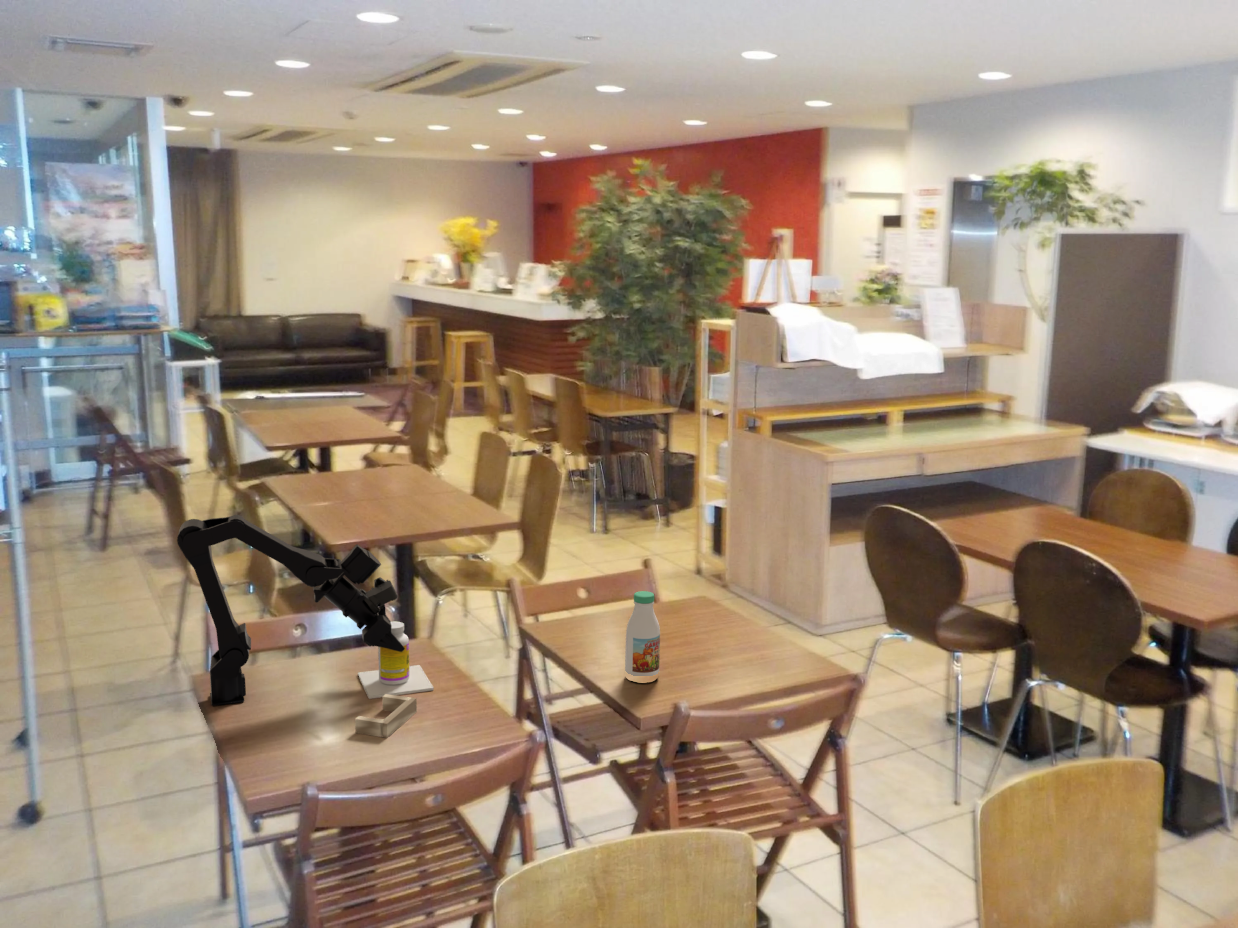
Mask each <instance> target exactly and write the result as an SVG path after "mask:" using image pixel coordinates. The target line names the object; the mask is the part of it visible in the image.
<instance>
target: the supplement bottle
mask: <svg viewBox="0 0 1238 928" xmlns="http://www.w3.org/2000/svg"><path fill="white" fill-rule="evenodd" d="M390 623H391V632H392V633H393V634H394V635H395V637H396V638H397V639H398V640H399V641H400V643H401V644H402V645H403V646H404V648H405V649H404V650H403V651H402V652H399V651H395V650H391V649H387V648H383V647H378V648H377V649H378V650H377V653H378V657H377V658H378V670H379V680H380V682H382V683H384V684H387V685H397V684H402V683H405V682H406V681H408V679H409V666H410V640H409V637H408V635H407V634H405V632H404V631H405V623H403V622H402V621H401V622H400V621H394V620H393V621H391V622H390Z"/></svg>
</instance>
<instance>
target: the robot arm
mask: <svg viewBox="0 0 1238 928" xmlns="http://www.w3.org/2000/svg"><path fill="white" fill-rule="evenodd" d="M233 539H237V540H239V541H240V542H242V543H244V544H245V545H247V546H249V547H251V548H252V549H255V550H256V551H258V552H260V553H262V554H263V555H265V556H267V557H269V558H270V559H273V560H275V561H276V562H278V563H279V564H282V565H283V566H284V567H285V568H287V569H288V570H289V572H290V573H292V574H293V575H294V576H295V578H297V579H298V580H299V581H301V582H302V583H303V584H305V585H306V586H307V587H311V588H312V590H313V593H314V595H313V598H314V599H313V600H314V602H315V603H319V602H320V601H321V600H322V599H323V598H326V600H328V601H329V602H330V603H331V604H333V605H334V606H335V607H336V608H337V609H338V610H339V611H341V613H342V615H343V616H344V617H345V618H350V619H351V620H352V621H353V622H354V623H355V624H356V627H357V628H358V629H359V630H361V636H362V637H361V638H362V640H363V642H364V643H365V644H366V645H367V646H369V647H383V648H387V649H391V650H395V651H399V652H402V651H403V650H404V649H405V648H404V646H403V645H402V644H401V643H400V641H399V640H398V639H397V638H396V637H395V635H394V634H393V633H392V632H391V623H390V622H392V621H391V620H390V618H389V617H388V616H387V614H386V613H387V611H386V605H385V604H387V603H389V602H394V601H395V600H397V599H398V597H399V595H398V593H397V591H396V589H395V587H394V585H393V583H392V581H391V580H389V579H386V580H385V579H384V578H382V577H381V576H380V577H377V578H375V579H374V581H373V582H374V583H373V586H372V587H371V589H370V590H367V591H366V590H365V589H363V588H357V587H356V586H355V585H357V584H358V585H360V584H364V583H366V581H367V580H368V579H369V578H370V577H371V576H372V575H373V574H374V573H375V572H376V571H377V570H378V569H379V568H380V567H381V566H382V564H381V561H380V560H379V559H378V558H377V557H376V556H375V555H374V554H373V553H372V552H371V551H370V550H367V549H366V548H363V547H362V546H360V545H359V544H355V545H354V546H353V547H352V549H351V551H350V552H348V554H347V555H346V556H345V557H344V558H343V559H340V558H331V557H330V558H328V557H324V556H323V555H321V554H318V553H316V552H313V551H311V550H308V549H303V548H299V547H296V546H293V545H291V544H289V543H287V542H286V541H284V540H282V539H280V538H278V537H277V536H275V535H273V534H272V533H270V532H268V531H266V530H265V529H263V528H261V527H259V526H257V525H255V524H254V523H252V522H250V521H248V520H246V518H245V517H244V516H242V515H239V514H232V515H231V516H227V517H226V516H225V517H216V518H215V517H214V518H208V519H204V520H200V519H198V518H190V519H187V520H185V521H184V522H183V523H182V524H181V526H180V528H179V530H178V534H177V539H176V542H177V545H178V548H179V550H180V551H181V552H182V554H183V556H184V557H185V559H186V560H187V562H188V563H189V564H190V565H191V567H192V568H193V569H194V572H195V576H196V577H197V582H198V583H199V585H200V589H201V591H202V594H203V597H204V599H205V602H206V604H207V607H208V610H209V614H210V616H211V619H212V621H213V624H214V627H215V630H216V639H217V640H216V641H217V648H218V649H217V650H216V651H215V652H214V653H213V654H212V655H211V660H210V668H209V680H210V681H209V682H210V683H209V684H210V693H209V695H210V703H211V706H213V707H214V706H223V705H230V704H236V703H244V702H245V696H247V693H246V691H247V688H246V675H245V673H243V670H242V667H244V666H245V665H246V664H247V662H248V660H249V658H250V651H251V650H252V637H250V635H249V634H248V631H247V630H248V629H247V625H246V623H245V622H243V623H242V624H239V623H238V622H237V621H236V620H235V618H234V615H233V614H232V610H231V607H230V605H229V602H228V599H227V596H226V594H225V590H224V587H223V584H222V583H221V580H220V577H219V574H218V571H217V568H216V565H215V563H214V560H213V552H212V546H214V545H218V544H220V543H223V542H226V541H227V540H228V541H229V540H233ZM344 576H345V577H344ZM346 578H347V579H346ZM354 584H355V585H354ZM363 627H364V628H363Z"/></svg>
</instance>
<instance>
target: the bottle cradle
mask: <svg viewBox="0 0 1238 928" xmlns="http://www.w3.org/2000/svg"><path fill="white" fill-rule="evenodd" d="M381 698H382V711H385V712H391V713H390V714H389V715H388V716H386V717H385V718H384V719H382V718H374V717H368V716H361V715H358V716H357V717H355V719H354V723H355V727H354V730H355V732H354V733H355V734H359V735H366V736H371V737H379V738H386V739H387V738H389V737H390V736H392V734H393V733H395V732H396V731H397V730H398V729H399V728H400V727H402V726H403V725H404V724H405V723H406V722H407V721H408V720H409V719H411V718H412V717H413V716H414V715H415V714H416V713H417V710H418V709H417V708H418V706H417V705H418V704H417V697H410V696H409V697H408V696H402V695H390V694H385V695H384V696H383V697H381Z"/></svg>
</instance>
